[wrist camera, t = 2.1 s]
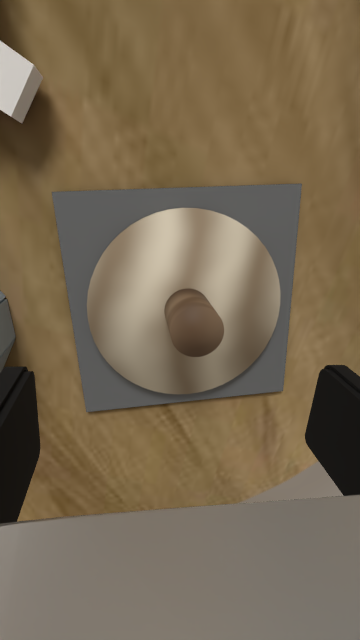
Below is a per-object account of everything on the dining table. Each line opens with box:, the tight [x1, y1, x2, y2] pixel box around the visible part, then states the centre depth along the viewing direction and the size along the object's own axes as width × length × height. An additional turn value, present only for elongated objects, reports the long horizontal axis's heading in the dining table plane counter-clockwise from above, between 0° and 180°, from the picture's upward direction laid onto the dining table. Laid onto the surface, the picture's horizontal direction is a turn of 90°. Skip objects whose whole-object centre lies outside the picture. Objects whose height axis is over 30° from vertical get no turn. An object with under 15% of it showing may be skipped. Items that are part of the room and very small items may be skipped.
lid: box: [87, 208, 280, 394], centre depth 28 cm, size 17×17×6 cm
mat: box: [52, 184, 302, 412], centre depth 31 cm, size 20×20×1 cm
